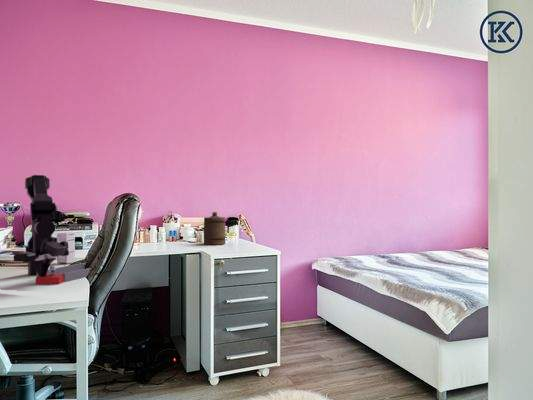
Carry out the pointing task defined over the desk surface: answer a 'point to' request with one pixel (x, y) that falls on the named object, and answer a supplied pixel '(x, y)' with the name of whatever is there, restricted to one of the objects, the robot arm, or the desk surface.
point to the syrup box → (70, 239)
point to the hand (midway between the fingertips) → (42, 278)
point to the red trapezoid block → (50, 277)
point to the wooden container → (214, 230)
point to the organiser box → (72, 271)
